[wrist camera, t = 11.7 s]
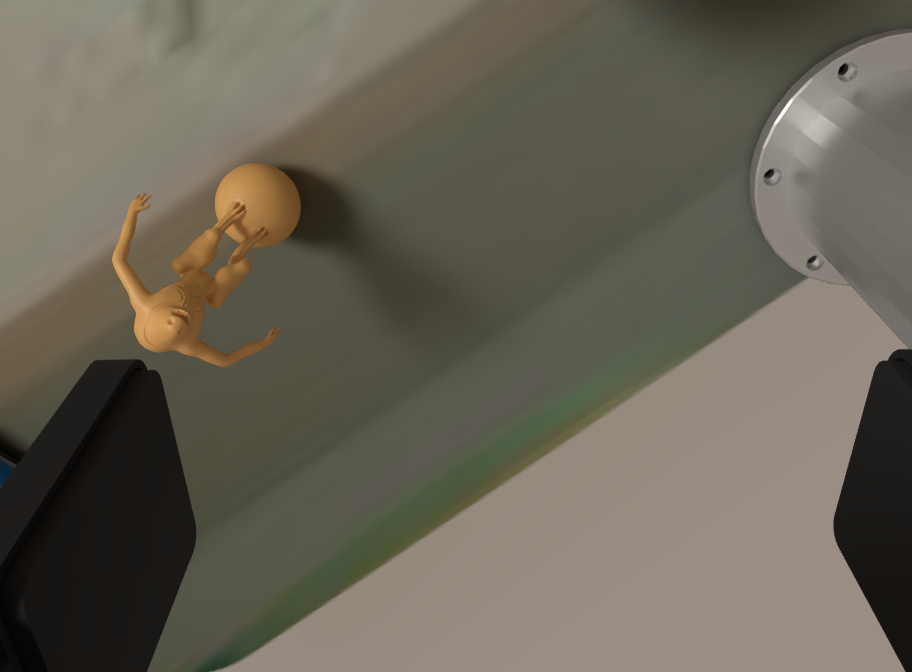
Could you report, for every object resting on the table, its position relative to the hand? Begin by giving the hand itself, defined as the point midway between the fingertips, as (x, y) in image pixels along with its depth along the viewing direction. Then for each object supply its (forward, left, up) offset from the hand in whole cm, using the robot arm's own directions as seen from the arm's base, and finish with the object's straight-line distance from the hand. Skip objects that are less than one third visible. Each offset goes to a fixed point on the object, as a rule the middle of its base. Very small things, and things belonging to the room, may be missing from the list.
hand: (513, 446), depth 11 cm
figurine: (+11, +8, -31) cm, 34 cm away
